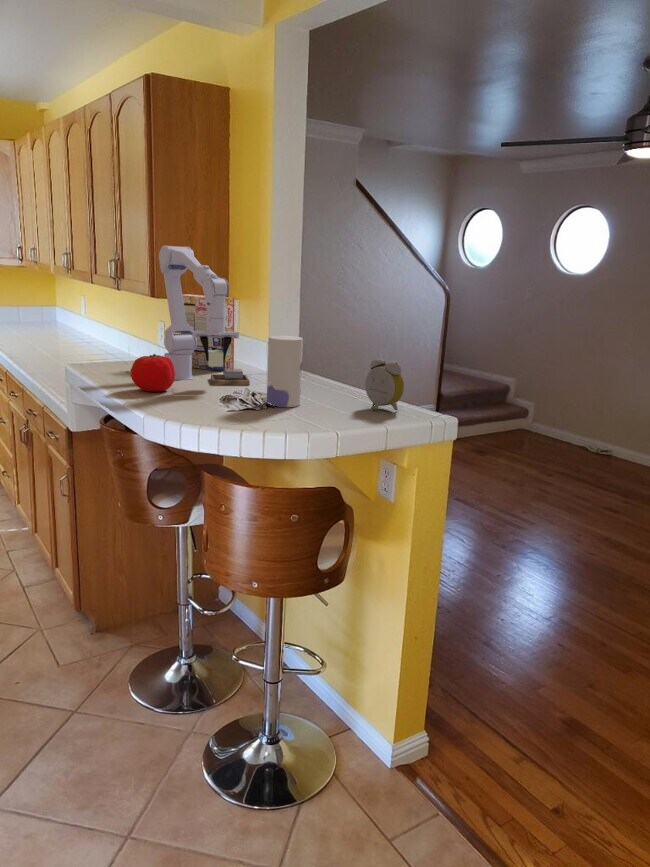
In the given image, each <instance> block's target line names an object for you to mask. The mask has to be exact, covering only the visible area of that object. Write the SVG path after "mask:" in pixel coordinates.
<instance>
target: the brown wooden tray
mask: <svg viewBox="0 0 650 867" xmlns="http://www.w3.org/2000/svg"><path fill="white" fill-rule="evenodd" d="M210 380H211V383H212V385H213V386H248V387H249V386H251V385H250V379H249V377H248V376H247V374H243V380H223V373H222V374H216V373H215V374H214V373H213V374H212V373H211V374H210Z"/></svg>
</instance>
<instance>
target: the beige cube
mask: <svg viewBox="0 0 650 867" xmlns="http://www.w3.org/2000/svg"><path fill="white" fill-rule="evenodd" d="M208 355H209V361H208V366H209V367H223V351H222V350H208Z"/></svg>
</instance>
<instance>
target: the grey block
mask: <svg viewBox="0 0 650 867" xmlns="http://www.w3.org/2000/svg"><path fill="white" fill-rule="evenodd" d="M222 374H223V380H243V375H244V371H243V370H242V369H241V368H234V369H223V371H222Z"/></svg>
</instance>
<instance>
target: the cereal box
mask: <svg viewBox="0 0 650 867" xmlns="http://www.w3.org/2000/svg"><path fill="white" fill-rule="evenodd" d="M182 295H183V302H184V309H185V316H186V323H187V324H188V325H190V326H191V327H192V328H193V329H194V331H207V302H205V295H201V294H200V295H199V294H191V293H190V294H186V293H185V294H182ZM225 331H231V332H235V297H229V296H226V297H225ZM210 336H222V335H210ZM196 338H197V347H196V349H195V350H194V353H192V369H194V368H195V369H203V370H209V371H215V372H217V371H218V372H223V369H235V364H234V363H235V360H234V359H235V338H231V339H232V341H231V344H230V346H229V348H228V350H227V353H226V357H225V361H223V367H209V366H208V361H206V355H205V351H204V347H203V345H202V342H201V340H200V337H196ZM208 350H222V351H223V338H208Z"/></svg>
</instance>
